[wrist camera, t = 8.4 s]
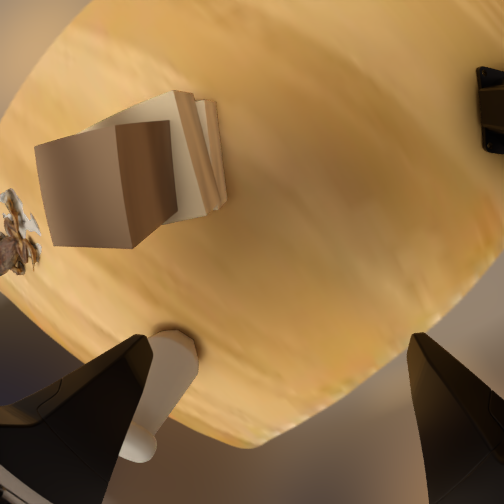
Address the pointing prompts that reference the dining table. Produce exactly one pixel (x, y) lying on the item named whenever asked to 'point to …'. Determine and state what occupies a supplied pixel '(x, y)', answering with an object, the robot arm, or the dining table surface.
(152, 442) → the salt shaker
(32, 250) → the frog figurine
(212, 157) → the beech slab lower
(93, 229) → the walnut cube
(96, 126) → the beech slab upper
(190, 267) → the dining table surface
